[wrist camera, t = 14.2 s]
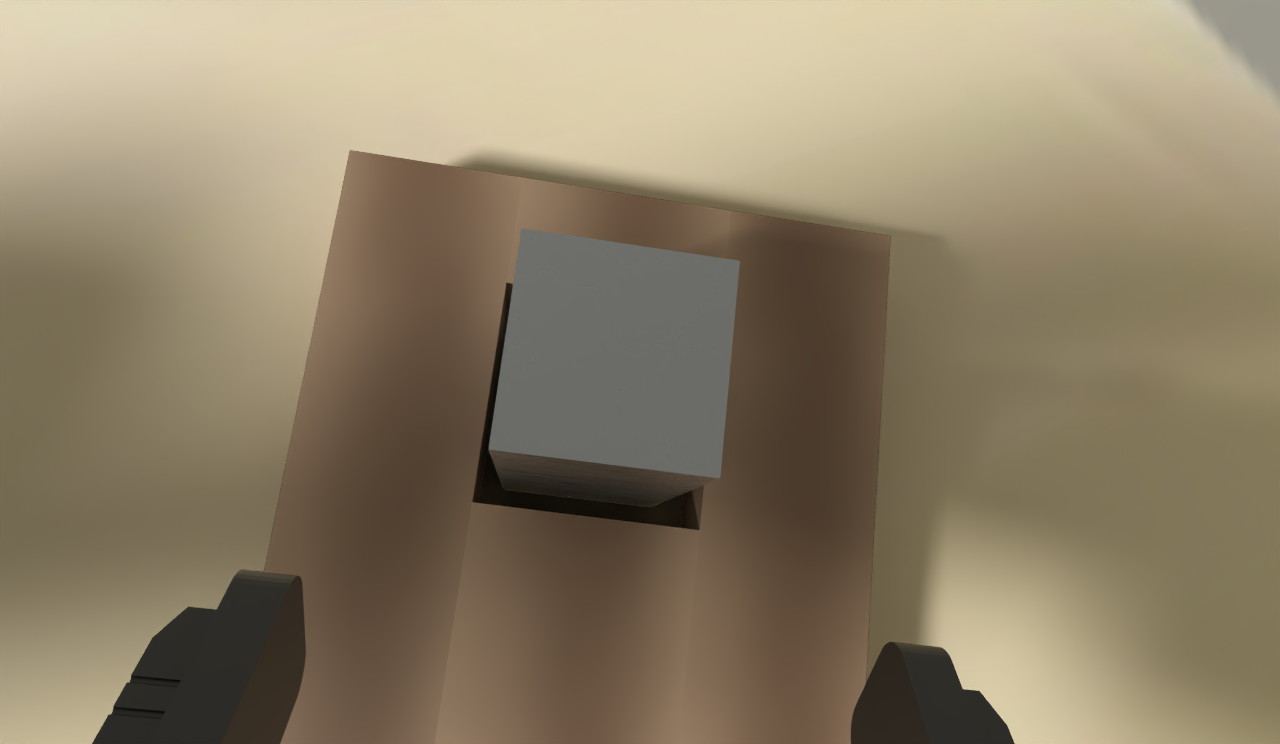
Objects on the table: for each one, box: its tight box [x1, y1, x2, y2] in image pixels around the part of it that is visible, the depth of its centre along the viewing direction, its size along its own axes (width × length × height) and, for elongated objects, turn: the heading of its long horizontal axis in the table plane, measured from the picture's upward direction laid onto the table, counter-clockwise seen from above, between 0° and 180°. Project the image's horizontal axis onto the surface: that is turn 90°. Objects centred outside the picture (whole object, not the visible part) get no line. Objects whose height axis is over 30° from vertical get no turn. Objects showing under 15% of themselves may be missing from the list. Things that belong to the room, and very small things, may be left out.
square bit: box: [488, 228, 740, 507], centre depth 20 cm, size 4×4×9 cm
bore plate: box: [264, 150, 891, 744], centre depth 22 cm, size 14×21×3 cm, turn 173°
